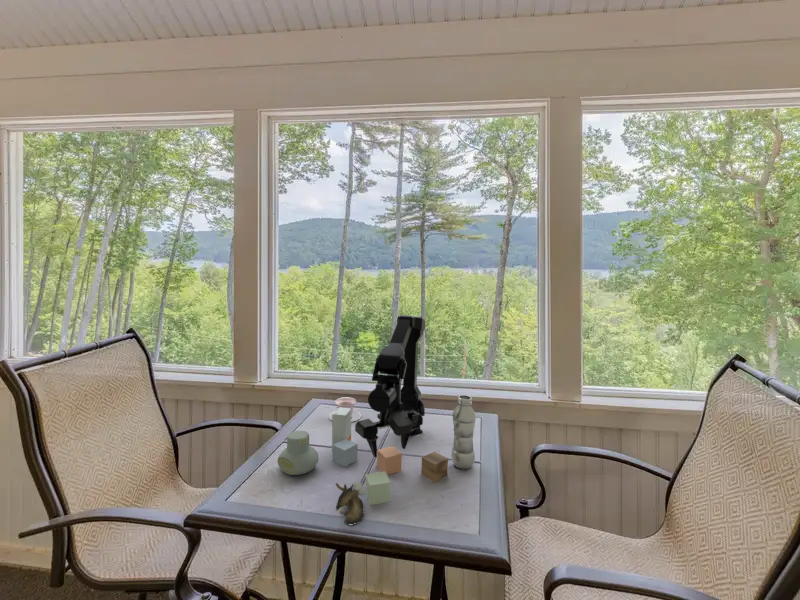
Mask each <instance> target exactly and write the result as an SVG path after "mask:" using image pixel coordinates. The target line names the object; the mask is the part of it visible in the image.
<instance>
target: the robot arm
mask: <svg viewBox="0 0 800 600" xmlns="http://www.w3.org/2000/svg"><path fill="white" fill-rule="evenodd" d="M396 319H397V320H396V325H395V327H394V330H393V333H392V335H391V338H390V341H389V343H388V345H387V346H384V347H383V348H381V350H380V352H379V354H378V356H377V357H376V359H375V364H374V366H373V367H374V368H373V372H372V375H371V377H372V378H371V381H372V382H376V384H375V388H374V389H372V390H371V391H370V393H369V395H368V397H367V402H368V405H369V407H370V408H371V410H372V411H375V412H378V414H376V415H377V419H378V420H379V421H372V420H371V419H370V418H366V419H363V420H361V419H360V420H357V421H356V423H355V425H354V430H355V432H356V433H357V434H358V435H359V436H360V437H361V438H362V439H365V440H366V441H367V444H368V446H369V449H370V451H371V453H372V455H373V457H374V458H377V450H378V449H377V448H378V445H377V443H378V442H377V440H378V439H379V436H378V434H379V430H380V429H386V428H391V430H392V432H393V434H394V435H395V436H399V437H400V444H401V448H402V449H403V450H406V447H407V445H408V443H409V439H410V437H411V436H414V435H418V434H423V432H424V431H423V430H422V429H421V426H423V424H424V416H425V413H426V412H425V411H426V409H425V404H424V401H423V399H422V392H421V390H420V388H419V386H418V384H417V382H418V358H419V357H418V354H419V351H418V349H419V342H420V340H421V338H422V337H423V336H424V331H425V330H426V320H425V319H424V318H423V317H422V316H418V315H412V314H411V315H410V314H400V315H398V316H397V318H396ZM402 383H403V385H402Z"/></svg>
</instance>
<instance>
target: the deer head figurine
mask: <svg viewBox="0 0 800 600" xmlns="http://www.w3.org/2000/svg"><path fill="white" fill-rule="evenodd" d="M335 485H336V488H337V489H338V490H340V491H341V493H340V495H339V496H338V499H337V502H336V506H335V510H336V511H338V510H339V511H338V512H339V513H342V512H344V511H345V510H346V508H347V507H348V509H347V510H348V511H347V514H346V517H345V520H344V523H345V524H346V525H347V524H354V523H357V524H358V522H359V523H360V522H361V521H362V520H363V518H364V516H365V514H364V503H363V500H362V499H361V498H360V497H359V496H362V495H363V494H364V485H363V484H362V483H361V482H360V481H356V482H355V483H352V485H350V487H347V484H346V483H344V484H343V487H342V486H340V484H339V483H338V482H336V483H335Z"/></svg>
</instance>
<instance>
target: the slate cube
mask: <svg viewBox="0 0 800 600" xmlns="http://www.w3.org/2000/svg"><path fill="white" fill-rule="evenodd" d="M356 461H358V443H356V442H354V441H352V440H351V441H349V440H347V439H344V440H342V441H340V442H338V443H335V444H333V452H332V462H334V463H336V464H337V465H340V466H341V467H345V468H346V467H347V466H350V465H351V464H353V463H355V462H356Z"/></svg>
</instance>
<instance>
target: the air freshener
mask: <svg viewBox="0 0 800 600" xmlns="http://www.w3.org/2000/svg"><path fill="white" fill-rule="evenodd" d="M278 455H279V456H278V457H277V464H278V467H279V469H281V471H282V472H283V473H285V474H287V475H290V476H299V475H303V474H307V473H309V472H310V471H312V470H313V469H314V468H316V467H317V464H318V463H319V459H320V458H319V453H318V452H317V450H316V449H315V448H314V447H313V446H311V445H310V433H309V432H308V431H306V430H295V431H294V430H293V431H291V432H289V433H288V434H287V436H286V448H284V449H283V450H282V451H281V452H280V454H278Z"/></svg>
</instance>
